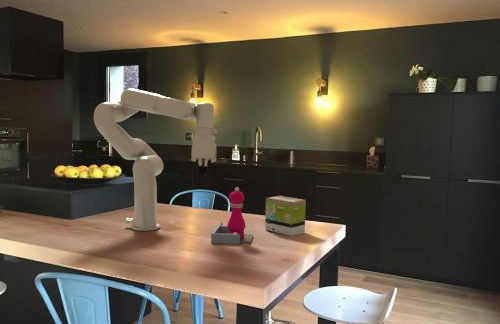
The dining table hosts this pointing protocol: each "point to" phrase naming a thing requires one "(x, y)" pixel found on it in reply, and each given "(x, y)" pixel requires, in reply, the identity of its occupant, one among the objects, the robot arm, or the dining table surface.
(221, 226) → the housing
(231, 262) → the dining table surface
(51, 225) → the dining table surface
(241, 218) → the pepper mill
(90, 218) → the dining table surface
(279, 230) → the tea box
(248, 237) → the base plate
